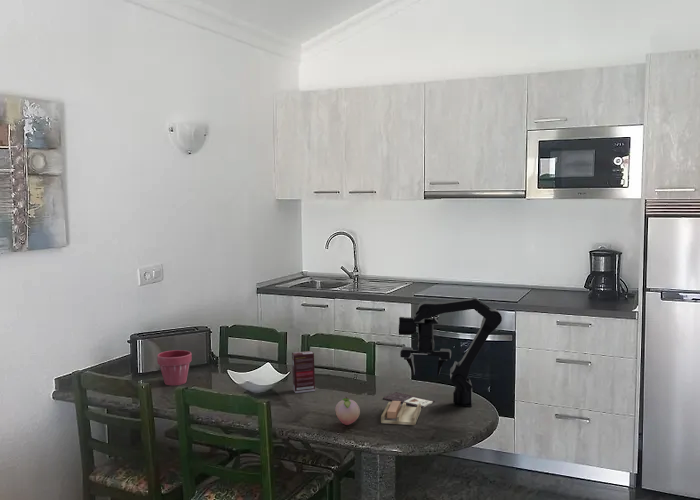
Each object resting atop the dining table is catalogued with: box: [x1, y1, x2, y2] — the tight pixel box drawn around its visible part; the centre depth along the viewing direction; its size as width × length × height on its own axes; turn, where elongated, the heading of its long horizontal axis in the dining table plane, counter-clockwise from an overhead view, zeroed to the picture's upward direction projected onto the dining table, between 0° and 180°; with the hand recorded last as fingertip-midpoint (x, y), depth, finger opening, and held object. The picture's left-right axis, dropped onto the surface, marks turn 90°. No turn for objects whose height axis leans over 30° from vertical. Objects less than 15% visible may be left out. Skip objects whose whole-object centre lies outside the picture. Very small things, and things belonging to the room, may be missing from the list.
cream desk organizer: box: [380, 401, 422, 426], centre depth 244 cm, size 12×16×2 cm
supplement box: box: [291, 350, 316, 394], centre depth 276 cm, size 9×5×16 cm, turn 106°
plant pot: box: [156, 349, 193, 386], centre depth 290 cm, size 14×14×13 cm
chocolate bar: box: [382, 391, 435, 409], centre depth 262 cm, size 9×1×18 cm
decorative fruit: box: [334, 397, 361, 426], centre depth 236 cm, size 9×8×10 cm
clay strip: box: [387, 401, 402, 419], centre depth 244 cm, size 3×12×2 cm, turn 167°
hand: (425, 375), depth 257 cm, fingers open, 9 cm apart
